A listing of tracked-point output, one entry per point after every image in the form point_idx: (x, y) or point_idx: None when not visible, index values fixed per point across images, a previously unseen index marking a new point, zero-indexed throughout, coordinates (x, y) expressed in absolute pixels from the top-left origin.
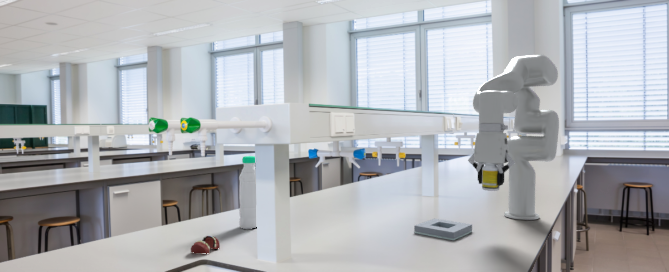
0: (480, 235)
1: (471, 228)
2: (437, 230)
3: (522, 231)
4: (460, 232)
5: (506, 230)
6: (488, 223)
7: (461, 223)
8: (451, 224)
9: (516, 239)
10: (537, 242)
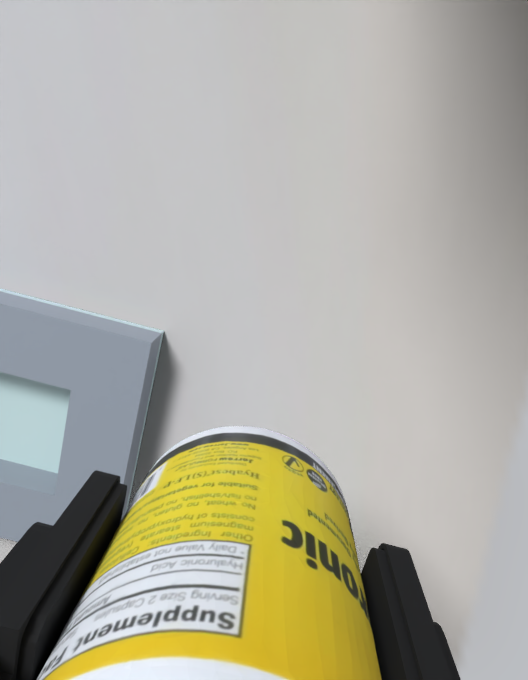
0: (221, 389)
1: (156, 347)
2: (18, 538)
3: (453, 173)
4: (127, 484)
5: (352, 193)
6: (216, 17)
7: (84, 344)
8: (36, 379)
9: (411, 392)
10: (518, 407)
